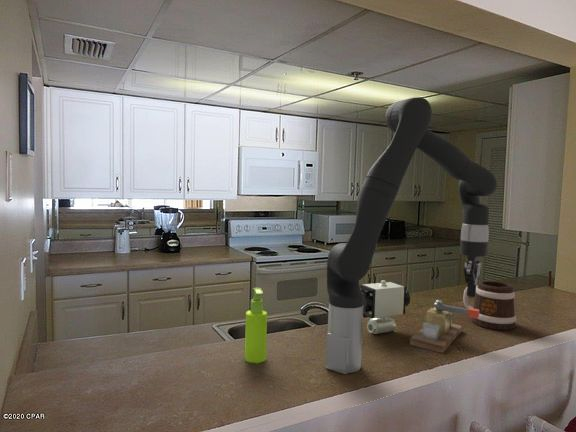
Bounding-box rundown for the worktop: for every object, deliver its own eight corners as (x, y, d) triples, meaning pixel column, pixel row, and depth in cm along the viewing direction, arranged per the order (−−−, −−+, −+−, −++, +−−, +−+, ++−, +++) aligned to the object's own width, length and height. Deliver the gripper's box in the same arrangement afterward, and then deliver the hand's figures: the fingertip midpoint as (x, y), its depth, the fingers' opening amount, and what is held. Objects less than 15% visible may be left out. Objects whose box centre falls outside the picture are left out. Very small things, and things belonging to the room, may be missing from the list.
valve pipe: (439, 341, 124) (440, 319, 123) (419, 337, 127) (420, 315, 127) (453, 326, 138) (454, 306, 138) (435, 322, 142) (436, 303, 141)
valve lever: (432, 310, 132) (433, 300, 132) (435, 308, 134) (435, 299, 134) (477, 319, 124) (477, 308, 124) (479, 316, 127) (479, 306, 126)
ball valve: (392, 324, 145) (395, 275, 144) (409, 332, 137) (411, 281, 136) (350, 330, 137) (352, 279, 136) (365, 339, 130) (367, 284, 128)
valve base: (442, 353, 120) (443, 346, 120) (409, 344, 126) (410, 338, 126) (461, 331, 140) (461, 325, 140) (432, 324, 146) (432, 319, 146)
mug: (524, 327, 146) (527, 286, 145) (501, 334, 138) (503, 291, 137) (474, 312, 163) (476, 275, 162) (450, 317, 155) (452, 279, 154)
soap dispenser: (247, 365, 108) (249, 292, 107) (243, 355, 115) (244, 285, 113) (268, 363, 109) (270, 291, 108) (263, 353, 116) (265, 285, 115)
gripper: (483, 242, 113) (480, 303, 114) (492, 238, 124) (488, 294, 125) (455, 240, 117) (452, 298, 119) (465, 236, 128) (463, 290, 129)
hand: (471, 296), depth 122 cm, fingers closed
